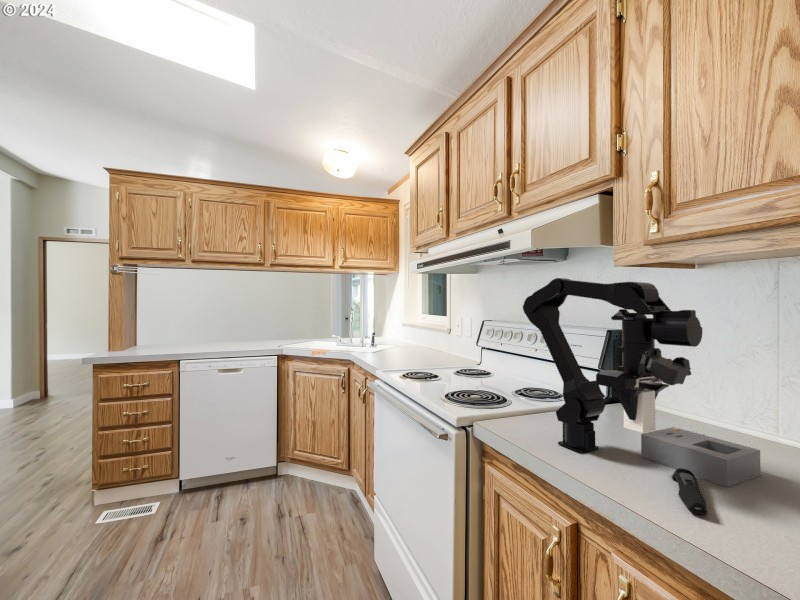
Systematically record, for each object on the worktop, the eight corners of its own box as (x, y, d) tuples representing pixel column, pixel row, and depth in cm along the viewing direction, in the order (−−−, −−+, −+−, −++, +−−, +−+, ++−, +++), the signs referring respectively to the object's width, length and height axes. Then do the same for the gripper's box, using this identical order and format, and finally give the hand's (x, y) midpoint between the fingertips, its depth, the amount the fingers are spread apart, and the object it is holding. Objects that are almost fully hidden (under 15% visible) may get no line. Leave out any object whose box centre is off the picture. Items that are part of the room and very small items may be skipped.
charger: (623, 427, 79) (623, 387, 79) (636, 424, 81) (635, 386, 81) (643, 432, 76) (642, 391, 76) (655, 430, 77) (654, 389, 78)
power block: (641, 456, 85) (641, 433, 85) (673, 448, 90) (673, 426, 90) (727, 487, 70) (727, 458, 70) (760, 475, 75) (760, 448, 76)
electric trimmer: (683, 518, 61) (683, 498, 61) (671, 479, 74) (671, 462, 74) (713, 525, 59) (713, 505, 59) (695, 483, 72) (695, 467, 72)
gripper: (649, 348, 67) (650, 437, 67) (708, 344, 75) (710, 423, 75) (593, 343, 78) (594, 420, 77) (651, 340, 85) (652, 410, 85)
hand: (639, 418), depth 78 cm, fingers closed on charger, 4 cm apart
